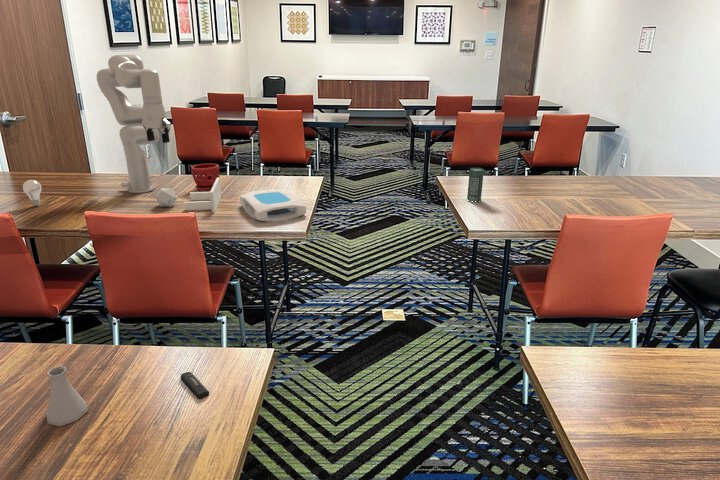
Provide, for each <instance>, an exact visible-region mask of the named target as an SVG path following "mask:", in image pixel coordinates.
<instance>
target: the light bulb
mask: <svg viewBox="0 0 720 480" xmlns="http://www.w3.org/2000/svg"><path fill="white" fill-rule="evenodd" d="M42 189H43V188H42V184H41V183H40V182H39V181H38V180H36V179H28V180H26V181H25V182H24V183H23V185H22V190H23V192H24V194H26V195H27V196H28V198H29V200H30V202H31V205H32V206H34V207H39V206H40V204H41V199H40V198H41V192H42V191H43V190H42Z"/></svg>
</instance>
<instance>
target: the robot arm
mask: <svg viewBox="0 0 720 480" xmlns="http://www.w3.org/2000/svg"><path fill="white" fill-rule="evenodd" d="M107 64H108V68H102V69H99V70H98V71H97V73H96V82H97V85H98V87H99V89H100V91H101V93H102V95H103V96H104V97H105V99H106V100H107V101H108V103H109V105H110V108H111V111H112V113H113V116H114V118H115V119H116V121H117V123H118V124H119V125H120V126H122V127H121V128H120V130H119V131H118V132H119V133H118V134H119V137H120V142H121V144H122V147H123V151H124V156H125V157H124V158H125V163H126V168H127V173H128V178H129V181H126V182H124V181H123V182H121V183H120V185H121V187H123V188H124V187H125V188H126V187H127V188H126V189H127V192H128V193H131V194H144V193H149V192H152V191H155V189H156V186H155V185H153V184H152V182H151V181H152V180H151V174H150V168H149V162H148V155H147V152H146V150H144V149H143V148H142V147H141V146H142V145H150V144H156V143H158V142H159V141H160V133H159V130H160V132H161V141H162V143H163V144H166V143H170V136H169V135H170V130H171V127H172V126H171V125H172V124H171V122H170V121H168V120H167V119H168V118H167V115H166V111H165V107H164V104H163V98H162V97H163V96H162V90H161V84H160V82H161V81H160V77H159V72H158V70H153V69H148V68H146V69H145V68H144V63H143V60H142V59H141V57H139V56H138V55H136V54H116V55H113V56H111V57H109V59H108V62H107ZM119 87H120V88H122V87H123V88H125V89H141V96H142V103H143V104H138V103H137V104H131V103H130V101H129V98H128V97H127V95H126V93H124V92H123V91H122V90H120V89H118V88H119Z"/></svg>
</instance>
